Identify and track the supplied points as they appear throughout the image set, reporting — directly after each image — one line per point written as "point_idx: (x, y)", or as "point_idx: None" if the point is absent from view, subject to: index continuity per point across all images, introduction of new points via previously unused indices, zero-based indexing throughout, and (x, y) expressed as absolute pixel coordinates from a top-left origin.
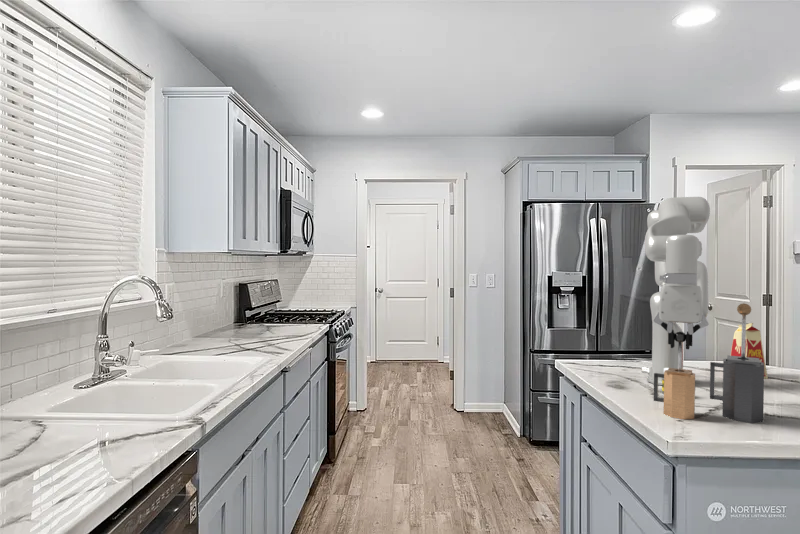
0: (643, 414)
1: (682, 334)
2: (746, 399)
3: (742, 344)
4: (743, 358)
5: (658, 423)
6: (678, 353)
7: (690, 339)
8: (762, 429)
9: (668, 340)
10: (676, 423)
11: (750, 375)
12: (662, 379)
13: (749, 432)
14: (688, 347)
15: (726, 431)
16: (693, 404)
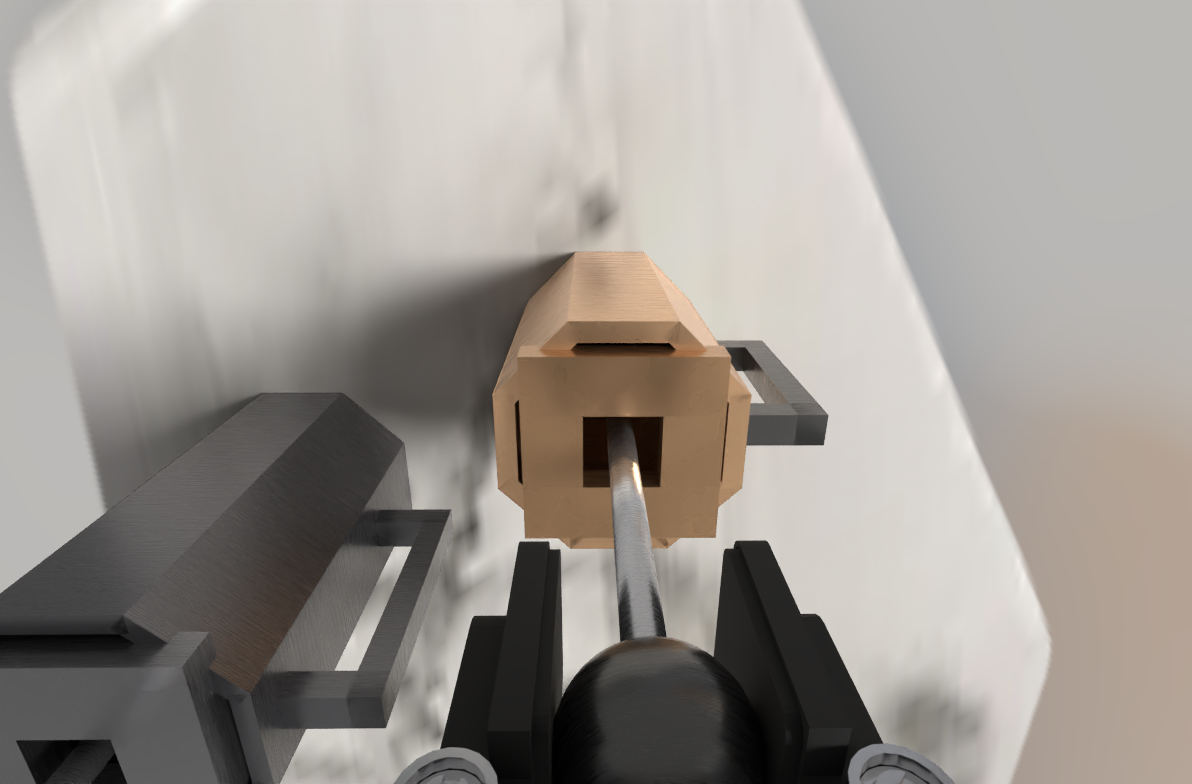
0: (799, 224)
1: (617, 749)
2: (217, 449)
3: None
4: (65, 765)
5: (709, 57)
6: (650, 546)
7: (481, 691)
8: (195, 298)
9: (829, 647)
10: (610, 130)
11: (69, 551)
12: None
13: (237, 188)
14: (520, 551)
15: (343, 127)
16: (524, 318)
